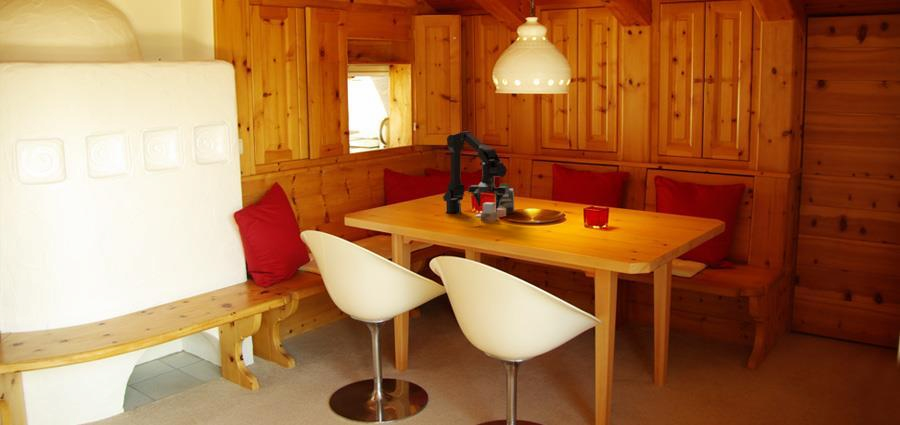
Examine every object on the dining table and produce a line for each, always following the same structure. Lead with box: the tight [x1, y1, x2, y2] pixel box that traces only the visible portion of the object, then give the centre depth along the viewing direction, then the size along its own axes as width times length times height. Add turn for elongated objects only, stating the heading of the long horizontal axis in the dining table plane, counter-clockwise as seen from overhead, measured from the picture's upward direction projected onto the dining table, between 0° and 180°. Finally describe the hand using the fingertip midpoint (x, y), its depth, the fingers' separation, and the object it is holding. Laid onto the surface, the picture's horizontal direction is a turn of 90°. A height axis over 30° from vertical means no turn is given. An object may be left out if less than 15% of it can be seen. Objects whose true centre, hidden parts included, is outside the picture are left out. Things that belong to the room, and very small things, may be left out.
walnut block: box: [480, 211, 498, 223], centre depth 421 cm, size 6×6×4 cm
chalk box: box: [494, 183, 515, 213], centre depth 439 cm, size 9×9×15 cm
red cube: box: [497, 208, 507, 218], centre depth 429 cm, size 4×4×4 cm
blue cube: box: [482, 202, 496, 214], centre depth 420 cm, size 4×4×4 cm
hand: (488, 207), depth 421 cm, fingers open, 9 cm apart
